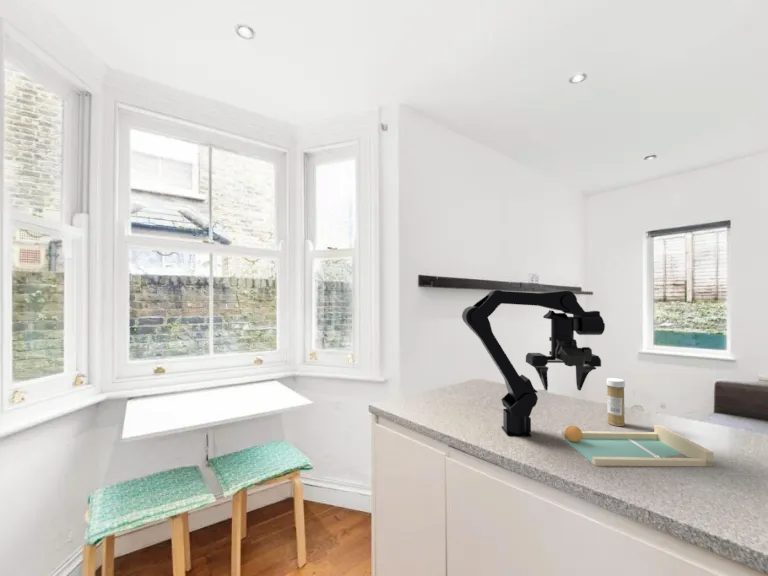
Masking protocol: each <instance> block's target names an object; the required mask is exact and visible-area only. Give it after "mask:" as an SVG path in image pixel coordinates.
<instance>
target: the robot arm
mask: <svg viewBox="0 0 768 576" xmlns="http://www.w3.org/2000/svg"><path fill="white" fill-rule="evenodd" d="M501 304H503V305H505V304H506V305H508V304H509V305H520V306H536V307H538V306H539V307H541V308H546V309H549V310H548V311H547V313H545V314H544V315H543V316H542V317H543V319H546V320H550V336H549V337H548V338H549V340H548V341H550V343H551V344H550V346H551V347H550V349H551V350H549V355H545V354H543V353H541V352H528V353H527V354H526V355H525V363H527V364H528V365H530V366H531V367H532V368H534V369H535V371H536V372H537V375H538V376H539V379H540V381H541V382H540V383H541V384H542V386H543V389H544V390H545V391H548V388H549V383H548V380H549V379H548V370H549V366H547V364H549V363H551V364H553V363H554V364H557V363H558V364H560V363H561V364H564V365H565V366H567V367H575V376H576V377H575V378H576V379H575V381H576V389H577V391H581V390H582V388H583V386H584V383H585V381H586V378H587V376H588V375H589V373H591V372H592V371H593V370H596V369H597V368H599V367H602V359H601V357H600V356H599V355H596V354H594V353H593V350H592V348H591V347H589V346H583V347H578V342H577V339H574V338H575V337H574V336H575V334H574V333H576V334H577V335H579V336H602V334H604V333H605V329H606V324H605V323H604V322H605V321H604V319H603V317H602V316H601V312H600V310H589V311H586V310H585V309H583V307H582V306H581V305H580V303H579V302H578V297H577V296H576V295H575V293H574V292H573V291H570V290H552V291H551V290H550V291H544V292H526V291H525V292H523V291H510V290H509V291H508V290H506V291H505V290H500V289H492V290H490V291H489V293H488V294H486V295H485V296H484V297H483V298H481V299H479V300H478V301H477V302H476V303H474V304H473V305H472V306H471V305H470V306H468V307H465V308H464V310H463V311H462V314H461V318H462V320H463V322H464V323H465V325H466V326H467V327H468V328H469V330H470V331H472V332H473V333H474V334H475V335H476V336H477V338H478V339H479V340H480V342H481V344H482V345H483V347H484V349H485V350H486V351H487V353H488V354H489V356H490V358H491V360H492V361H493V363H494V364H495V366H496V367H497V369H498V371H499V372H500V374H501V376H502V378H503V380H504V383H505V386H506V390H507V394H505V395H504V396H503V397H502V398H501V403H502V406H503V407H504V408H503V409H502V411H503V412H502V413H503V417H502V418H503V421H502V423H503V425H502V426H501V429H502V431H503V432H504V433H505V435H507V437H517V438H518V437H519V438H520V437H523V438H526V437H527V438H532V434H531V432H532V418H531V414H532V411H533V408H534V407H536V405H537V403H538V399H539V398H538V395H537V393H538V391H537V389H535V388H534V386H533V384H532V381H531V380H530V378H529V377H527V376H525V375H523V374H521V375H520V374H519V373H518V372H517V370H516V368H515V367H514V365H513V364H512V362H511V360H510V359H509V357H508V356H507V354H506V352H505V351H504V350H503V347H502V346H501V344H500V343H499V341H498V339H497V338H496V335H495V334H494V333H493V330H492V325H491V322H490V319H489V316H491V315H492V314H493V313H494V312H495V311H496V309H497V308H498V307H500V305H501ZM554 310H555V311H558V312H555V311H554ZM560 311H561V312H560ZM568 315H572V316H568Z"/></svg>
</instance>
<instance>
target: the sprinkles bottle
mask: <svg viewBox="0 0 768 576" xmlns="http://www.w3.org/2000/svg"><path fill="white" fill-rule="evenodd" d="M625 386H626V383H625V380H624V379H622V378H618V377H617V378H616V377H608V378H606V388H607V389H606V390H607V391H606V392H607V393H606V401H607V402H606V406H607V407H606V411H607V419H606V422H607V423H608V424H609V425H612V426H614V427H624V426H625V425H626V422H625V413H626V412H625V408H626V407H625Z"/></svg>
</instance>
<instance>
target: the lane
mask: <svg viewBox="0 0 768 576" xmlns="http://www.w3.org/2000/svg"><path fill="white" fill-rule="evenodd" d="M653 428H654V429H653V431H651V432H650V431H647V432H645V431H593V430H592V431H590V430H589V431H586V430H585V431H583V430H581V432H582V439H581V440H580V441H578V442H572V441H570V440H569V439H568V438H567V437H566V435H565V430H562V431H561V439H563V440H564V442H566V443H567V444H568V445H569V446H571V447H572V448H573V449H575V451H577V452H578V453H579V454H580V455H581V456H582V457H584V458H585V459H587V461H589V462H590V463H591V464H592V465H594V466H598V467H599V466H602V467H603V466H604V467H608V466H610V467H611V466H612V467H619V466H624V467H627V466H628V467H629V466H630V467H714V451H712V450H710V449H708V448H707V447H704V446H702V445H700V444H699V443H696V442H694V441H693V440H691V439H689V438H686V437H685V436H682V435H681V434H679V433H677V432H675V431H673V430H671V429H669V428H667V427H665V426H663V425H661V424H654V425H653ZM563 440H562V441H563ZM680 454H682V455H684V456H686V457H672V456H677V455H680ZM657 455H658V456H659V457H660V458H659V457H657ZM654 456H656V457H654Z"/></svg>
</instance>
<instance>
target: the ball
mask: <svg viewBox="0 0 768 576" xmlns="http://www.w3.org/2000/svg"><path fill="white" fill-rule="evenodd" d="M564 431H565V435H566V437H567V438H568V439H569V440H570V441H572V442H578V441H580V440H581V439H582V432H581V431H582V429H580V428H579V427H578V426H575V425H569V426H567V427H566V428H565V430H564Z"/></svg>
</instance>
